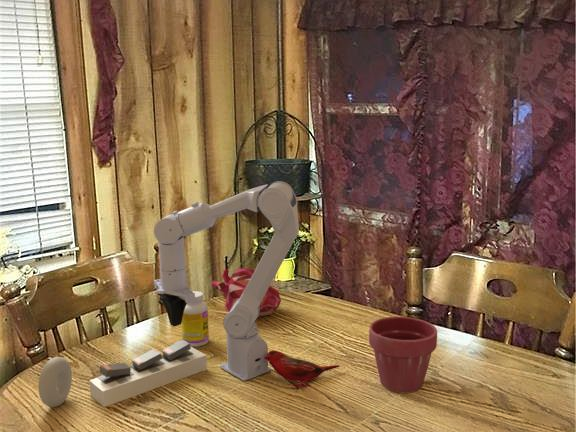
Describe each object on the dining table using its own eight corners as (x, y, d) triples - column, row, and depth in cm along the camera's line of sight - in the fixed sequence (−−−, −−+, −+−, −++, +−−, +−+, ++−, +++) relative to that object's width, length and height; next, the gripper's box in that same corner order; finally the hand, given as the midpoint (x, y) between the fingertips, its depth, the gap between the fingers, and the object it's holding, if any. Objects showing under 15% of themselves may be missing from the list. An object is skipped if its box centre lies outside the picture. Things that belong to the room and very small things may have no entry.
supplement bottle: (206, 347, 154) (204, 298, 151) (180, 347, 154) (177, 298, 151) (210, 336, 161) (208, 289, 158) (185, 337, 161) (182, 289, 158)
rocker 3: (190, 348, 142) (189, 343, 142) (170, 360, 139) (169, 354, 138) (183, 344, 144) (182, 338, 144) (163, 355, 141) (161, 350, 141)
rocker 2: (162, 358, 137) (160, 352, 137) (140, 370, 134) (138, 364, 134) (154, 354, 140) (153, 348, 139) (133, 365, 136) (131, 359, 136)
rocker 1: (130, 374, 133) (130, 367, 132) (105, 377, 129) (106, 370, 129) (123, 369, 135) (124, 362, 135) (99, 372, 131) (100, 365, 131)
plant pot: (412, 364, 144) (413, 311, 141) (448, 391, 131) (451, 334, 128) (357, 375, 138) (357, 321, 136) (389, 404, 126) (390, 345, 123)
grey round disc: (61, 391, 133) (57, 348, 131) (76, 392, 133) (72, 348, 130) (37, 416, 123) (32, 369, 121) (54, 417, 123) (49, 370, 121)
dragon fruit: (274, 299, 186) (211, 278, 182) (289, 272, 178) (223, 250, 174) (269, 335, 175) (202, 314, 171) (285, 308, 167) (215, 286, 164)
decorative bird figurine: (267, 390, 132) (260, 355, 140) (345, 391, 136) (334, 357, 145) (270, 381, 130) (263, 346, 138) (348, 382, 135) (337, 348, 143)
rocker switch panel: (206, 369, 142) (206, 353, 141) (104, 407, 126) (102, 389, 125) (191, 360, 147) (190, 344, 146) (90, 395, 131) (89, 378, 130)
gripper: (141, 264, 143) (145, 320, 146) (174, 278, 132) (177, 338, 135) (168, 258, 147) (171, 312, 150) (202, 272, 137) (204, 329, 140)
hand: (176, 324), depth 143 cm, fingers closed
